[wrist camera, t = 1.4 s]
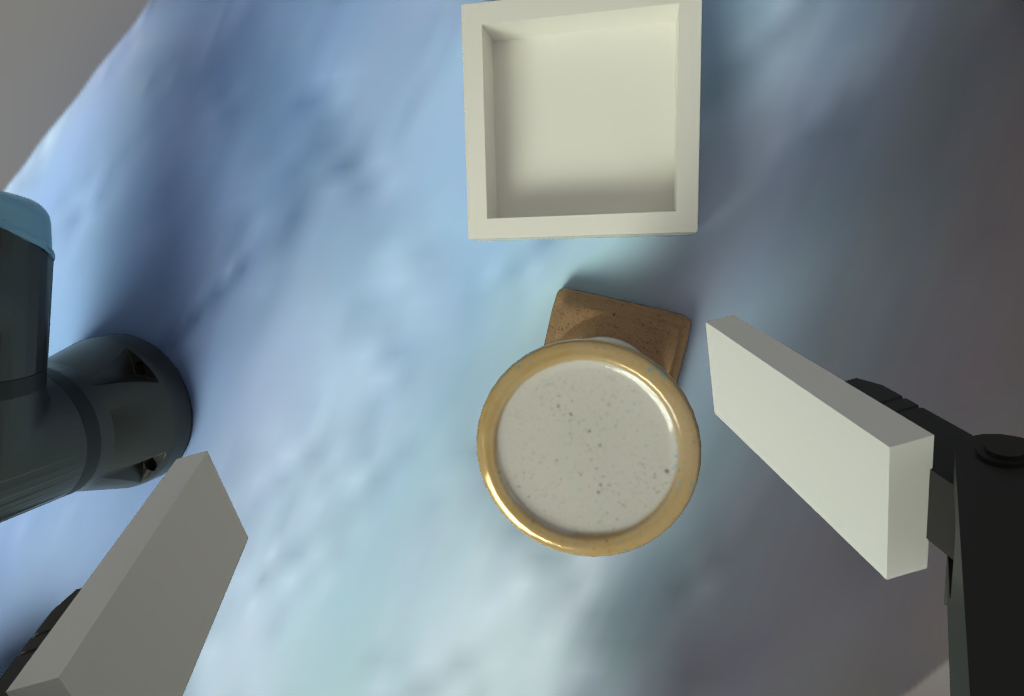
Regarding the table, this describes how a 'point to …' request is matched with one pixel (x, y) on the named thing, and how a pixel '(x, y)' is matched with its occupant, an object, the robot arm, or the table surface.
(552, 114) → the rimmed tray
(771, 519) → the table surface
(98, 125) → the table surface
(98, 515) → the table surface
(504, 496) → the candle holder
